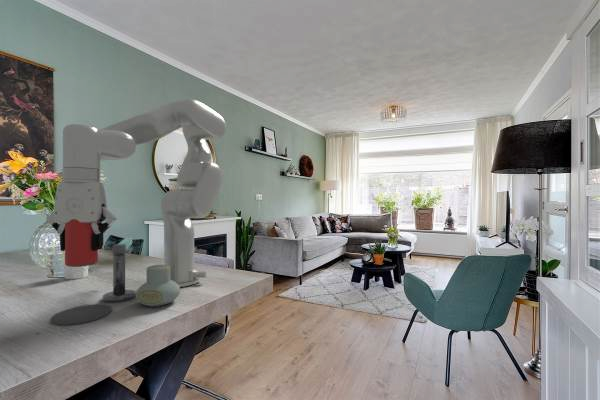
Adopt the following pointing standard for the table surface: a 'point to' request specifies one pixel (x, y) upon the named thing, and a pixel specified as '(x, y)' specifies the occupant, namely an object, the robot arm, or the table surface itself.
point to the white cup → (74, 271)
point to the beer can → (79, 244)
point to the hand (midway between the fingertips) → (81, 249)
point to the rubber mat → (81, 314)
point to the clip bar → (122, 246)
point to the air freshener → (158, 287)
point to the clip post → (118, 282)
